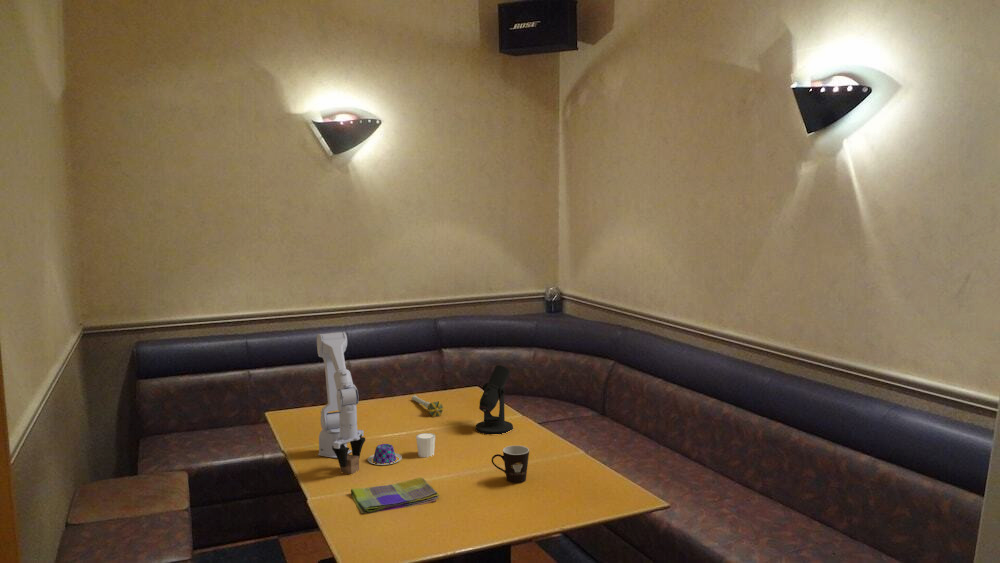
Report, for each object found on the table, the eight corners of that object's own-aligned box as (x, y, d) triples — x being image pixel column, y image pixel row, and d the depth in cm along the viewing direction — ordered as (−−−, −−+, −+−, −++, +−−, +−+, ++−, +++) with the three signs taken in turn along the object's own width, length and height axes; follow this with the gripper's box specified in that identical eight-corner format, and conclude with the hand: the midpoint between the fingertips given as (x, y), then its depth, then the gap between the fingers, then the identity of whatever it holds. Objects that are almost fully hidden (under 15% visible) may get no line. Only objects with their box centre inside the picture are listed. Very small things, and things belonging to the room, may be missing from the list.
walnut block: (340, 473, 244) (339, 458, 244) (348, 468, 248) (347, 454, 248) (351, 475, 242) (351, 460, 242) (359, 470, 247) (358, 456, 246)
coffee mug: (532, 476, 240) (532, 447, 239) (524, 486, 232) (524, 456, 231) (499, 472, 244) (499, 443, 243) (490, 481, 236) (490, 451, 235)
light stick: (421, 390, 332) (446, 402, 305) (421, 404, 332) (446, 417, 305) (406, 391, 328) (430, 404, 302) (407, 406, 329) (431, 419, 302)
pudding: (378, 469, 248) (378, 454, 247) (361, 459, 257) (360, 445, 256) (408, 461, 256) (408, 446, 255) (390, 452, 265) (390, 438, 264)
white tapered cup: (432, 458, 257) (432, 439, 256) (414, 457, 258) (413, 438, 257) (438, 451, 264) (437, 433, 263) (419, 450, 265) (419, 432, 264)
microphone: (521, 426, 293) (521, 365, 290) (498, 438, 278) (498, 374, 275) (490, 420, 301) (490, 360, 298) (466, 431, 286) (466, 369, 283)
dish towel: (349, 494, 228) (349, 486, 228) (424, 482, 237) (424, 474, 237) (361, 517, 212) (361, 508, 212) (441, 502, 221) (441, 494, 221)
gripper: (345, 431, 235) (346, 471, 237) (370, 418, 248) (371, 457, 250) (327, 428, 238) (329, 468, 240) (353, 416, 251) (354, 454, 253)
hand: (349, 462), depth 245 cm, fingers open, 7 cm apart
